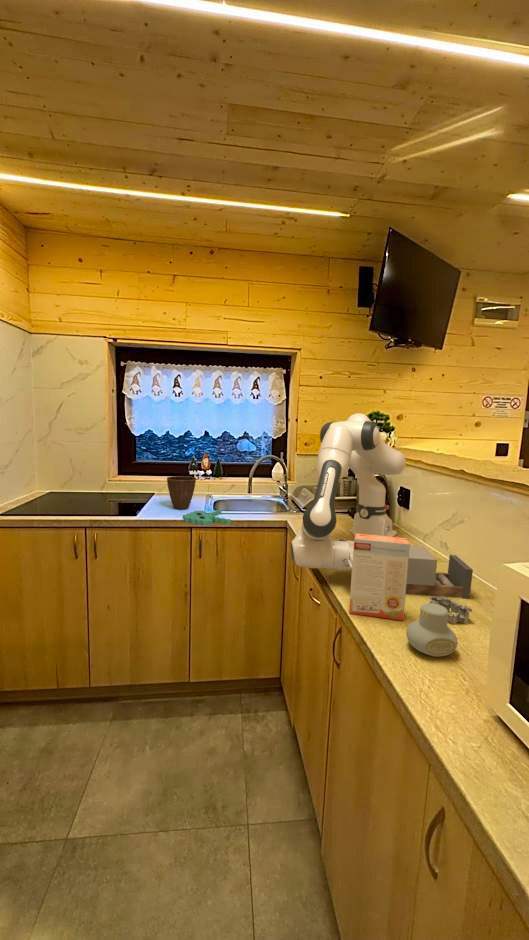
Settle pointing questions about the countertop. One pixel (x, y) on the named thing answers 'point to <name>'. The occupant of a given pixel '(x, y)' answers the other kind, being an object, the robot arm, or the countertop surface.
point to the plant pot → (181, 491)
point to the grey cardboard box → (421, 566)
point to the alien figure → (205, 517)
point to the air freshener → (432, 631)
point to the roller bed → (435, 589)
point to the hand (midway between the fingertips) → (386, 558)
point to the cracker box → (379, 576)
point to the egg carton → (453, 609)
